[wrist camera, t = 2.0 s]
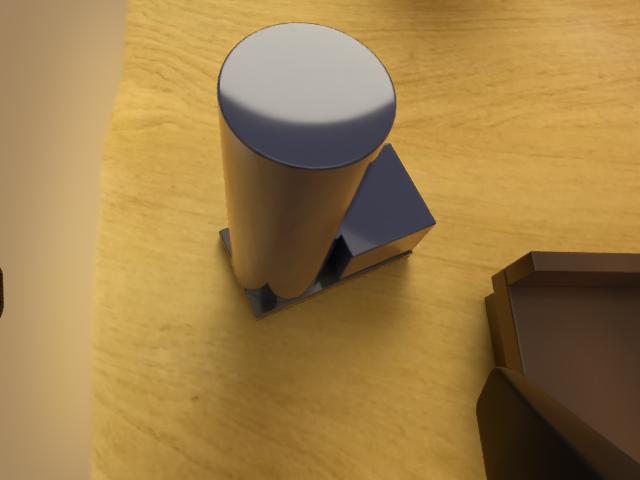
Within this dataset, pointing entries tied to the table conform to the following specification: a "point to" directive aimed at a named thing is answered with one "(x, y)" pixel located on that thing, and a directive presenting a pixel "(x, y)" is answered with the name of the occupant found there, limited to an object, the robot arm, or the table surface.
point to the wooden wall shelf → (575, 334)
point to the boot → (311, 166)
